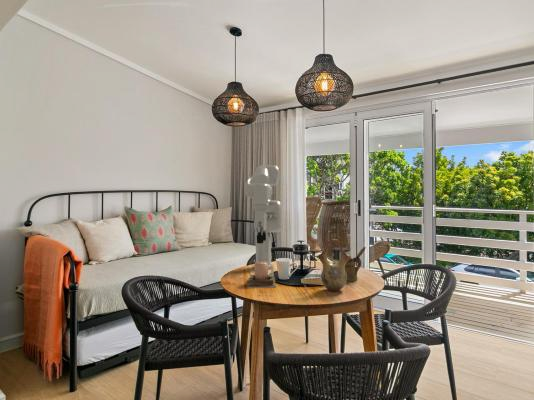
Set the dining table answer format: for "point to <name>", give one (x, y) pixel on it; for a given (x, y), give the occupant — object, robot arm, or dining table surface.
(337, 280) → the ceramic vessel
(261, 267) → the jug
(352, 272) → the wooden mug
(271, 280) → the jug stand
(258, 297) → the dining table surface
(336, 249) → the coffee can
